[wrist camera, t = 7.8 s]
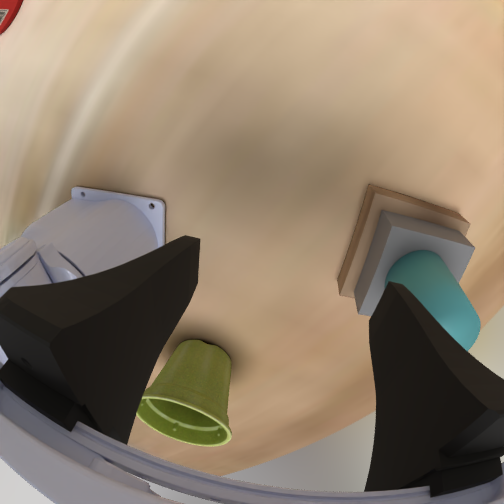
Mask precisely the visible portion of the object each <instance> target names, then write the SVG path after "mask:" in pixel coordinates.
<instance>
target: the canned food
mask: <svg viewBox="0 0 504 504" xmlns="http://www.w3.org/2000/svg"><path fill="white" fill-rule="evenodd" d="M22 1H23V0H0V34H1V33H3V32H4V31H5V30H6V29H7V28H8V26H9V25H10V24H11V22H12V21H13V19H14V18H15V16H16V14H17V12H18V10H19V8H20V6H21V4H22Z"/></svg>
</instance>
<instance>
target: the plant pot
mask: <svg viewBox="0 0 504 504" xmlns="http://www.w3.org/2000/svg"><path fill="white" fill-rule="evenodd" d="M230 376H231V360H230V358H229V356H228V355H227V354H226V353H225V352H224V351H223V350H222V349H221V348H219V347H218V346H216V345H209V344H206V343H204V342H202V341H201V340H187V341H184V342H182V343H180V344H179V346H178V347H177V348H176V350H175V351H174V353H173V354H172V356H171V357H170V359H169V360H168V362H167V363H166V365H165V366H164V368H163V369H162V370H161V372H160V373H159V375H158V376H157V378H156V379H155V381H154V382H153V384H152V385H151V386H150V387H149V388H147V389H146V390H145V391H144V394H143V396H142V399H141V402H140V405H139V408H138V410H137V413H136V415H137V416H138V417H139V418H140V419H141V420H142V421H143V422H144V423H145V424H147V425H148V426H149V427H151V428H152V429H154V430H156V431H157V432H159V433H161V434H163V435H165V436H167V437H170V438H172V439H175V440H177V441H181V442H184V443H188V444H193V445H198V446H220V445H223V444H226V443H227V442H229V441H230V440H231V436H232V432H231V429H230V427H229V419H228V415H227V408H228V396H229V385H230Z"/></svg>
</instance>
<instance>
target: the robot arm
mask: <svg viewBox="0 0 504 504" xmlns="http://www.w3.org/2000/svg"><path fill="white" fill-rule="evenodd" d="M83 192H84V193H85V195H84V193H83ZM71 194H72V199H70V200H69V201H67V202H65V203H64V204H62V205H60V206H59V207H57V208H55V209H54V210H52V211H50V212H49V213H47V214H46V215H44V216H42V217H41V218H39V219H38V220H36V221H35V222H33V223H32V224H30V225H29V226H28V227H27V228H26V229H25V231H24V232H23V234H22V235H21V237H19V238H17V239H15V240H14V241H12V242H10V243H8V244H7V245H5V246H4V247H2V248H1V249H0V457H1V459H2V460H4V461H5V462H6V463H7V464H8V465H9V466H10V467H11V468H12V469H13V470H14V471H15V472H16V473H18V474H19V475H20V476H21V477H22V478H23V479H25V480H26V481H27V482H28V483H29V484H30V485H32V486H33V487H34V488H35V489H37V490H38V491H39V492H41V493H42V494H43V495H44V496H46V497H47V498H49V499H50V500H51V501H53V502H54V503H55V504H183V503H179V502H176V501H172V500H169V499H165V498H162V497H161V496H159V495H158V494H156V493H155V492H153V491H152V490H151V489H150V485H149V483H147V482H145V481H143V480H141V479H139V478H137V477H140V478H142V479H145V480H147V481H150V482H152V483H155V484H158V485H161V486H163V487H167V488H169V489H172V490H175V491H178V492H181V493H185V494H188V495H191V496H195V497H198V498H202V499H206V500H210V501H214V502H218V503H223V504H504V462H503V463H501V461H500V457H502V456H503V455H504V379H502V378H501V377H499V376H498V375H496V374H495V373H493V372H492V371H491V370H489V369H488V368H487V367H485V366H484V365H483V364H482V363H480V362H479V361H478V360H476V359H475V358H474V357H473V356H472V355H471V354H470V353H468V352H467V351H466V350H465V349H464V348H463V347H462V346H461V345H460V344H459V343H458V342H457V341H456V340H455V339H454V338H453V337H452V336H451V335H450V334H449V333H448V332H447V331H446V330H445V329H444V328H443V327H442V326H441V325H440V323H439V322H438V321H437V320H436V319H435V318H434V317H433V316H432V315H431V313H430V312H429V311H428V310H427V309H426V308H425V307H424V306H423V304H422V303H421V302H420V301H419V300H418V299H417V298H416V297H415V296H414V295H413V294H412V293H411V291H409V290H408V289H407V288H406V287H405V286H404V285H403V284H400V283H396V282H391V281H388V284H387V286H386V288H385V290H384V292H383V294H382V296H381V298H380V300H379V302H378V304H377V306H376V308H375V310H374V312H373V314H372V316H371V318H370V320H369V344H370V351H371V359H372V366H373V373H374V381H375V390H376V424H375V436H374V445H373V452H372V458H371V464H370V469H369V474H368V478H367V482H366V486H365V490H364V492H327V491H309V490H298V489H289V488H280V487H273V486H266V485H260V484H254V483H249V482H243V481H239V480H233V479H229V478H225V477H221V476H217V475H213V474H209V473H205V472H201V471H198V470H194V469H191V468H188V467H184V466H181V465H178V464H175V463H172V462H169V461H166V460H163V459H161V458H158V457H155V456H153V455H150V454H147V453H145V452H142V451H140V450H137V449H135V448H133V447H130V446H128V445H127V443H128V439H129V436H130V433H131V429H132V426H133V423H134V419H135V416H136V413H137V410H138V408H139V405H140V402H141V399H142V396H143V394H144V391H145V388H146V386H147V383H148V381H149V378H150V376H151V373H152V371H153V369H154V366H155V364H156V362H157V359H158V357H159V355H160V353H161V351H162V349H163V347H164V345H165V344H166V342H167V340H168V339H169V337H170V335H171V334H172V332H173V330H174V329H175V327H176V325H177V323H178V322H179V320H180V318H181V317H182V315H183V313H184V312H185V310H186V308H187V307H188V305H189V303H190V300H191V298H192V296H193V293H194V291H195V289H196V286H197V284H198V269H199V252H200V239H199V238H195V237H190V236H186V235H185V236H182V237H180V238H178V239H176V240H173V241H171V242H169V243H167V244H165V204H164V202H163V201H162V200H159V199H153V198H147V197H141V196H135V195H129V194H123V193H117V192H111V191H104V190H98V189H91V188H84V187H78V186H76V187H74V188H72V190H71ZM151 203H153V204H154V206H155V207H152V206H151ZM127 472H128V473H127ZM129 473H130V474H129ZM131 474H132V475H131ZM133 475H135V476H137V477H135V476H133Z"/></svg>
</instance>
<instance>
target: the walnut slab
mask: <svg viewBox="0 0 504 504" xmlns="http://www.w3.org/2000/svg"><path fill="white" fill-rule="evenodd" d="M382 210H385V211H389V212H393V213H397V214H401V215H405V216H408V217H412V218H416V219H420V220H423V221H427V222H430V223H434V224H437V225H441V226H444V227H448V228H451V229H455V230H458V231H460V232H461V233H462V234H463V235H464V236H466V234H467V231H468V229H469V226H470V223H469V222H468V221H467V220H466V219H464V218H463V217H462V216H461V215H460V214H459V213H456V212H453V211H450V210H448V209H445V208H442V207H439V206H436V205H434V204H431V203H428V202H425V201H422V200H419V199H416V198H413V197H409V196H406V195H403V194H400V193H397V192H393V191H390V190H387V189H383V188H380V187H376V186H373V185H369V186H368V189H367V192H366V196H365V199H364V203H363V206H362V209H361V213H360V216H359V219H358V222H357V225H356V228H355V231H354V234H353V237H352V240H351V243H350V246H349V249H348V252H347V255H346V258H345V261H344V264H343V266H342V269H341V272H340V275H339V278H338V280H337V281H338V288H339V295H340V296H345V297H350V298H355V296H354V290H355V287H356V285H357V282H358V279H359V277H360V274H361V271H362V268H363V266H364V263H365V260H366V257H367V254H368V251H369V248H370V245H371V242H372V239H373V236H374V233H375V230H376V227H377V224H378V221H379V217H380V214H381V211H382Z"/></svg>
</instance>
